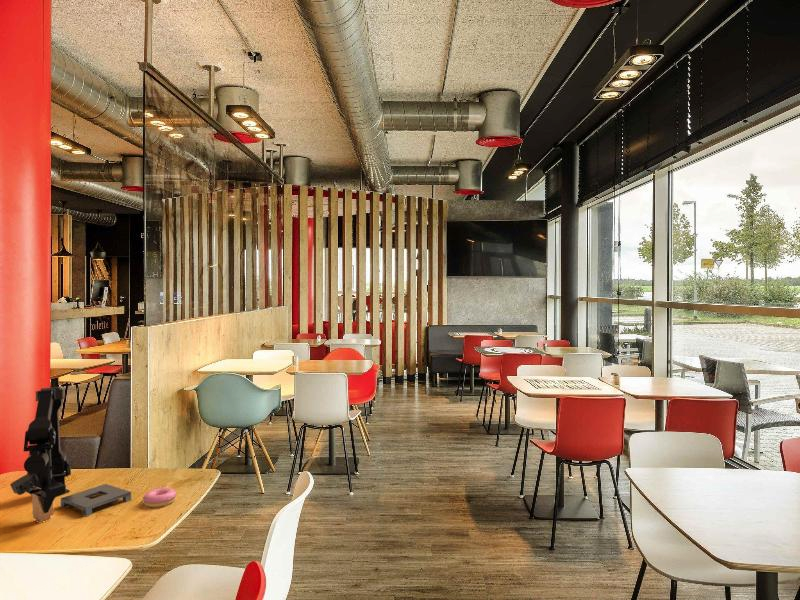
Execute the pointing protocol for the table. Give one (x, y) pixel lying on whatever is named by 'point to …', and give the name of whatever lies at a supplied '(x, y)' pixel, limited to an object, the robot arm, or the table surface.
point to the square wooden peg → (40, 509)
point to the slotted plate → (87, 504)
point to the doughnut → (159, 497)
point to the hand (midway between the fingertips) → (43, 511)
